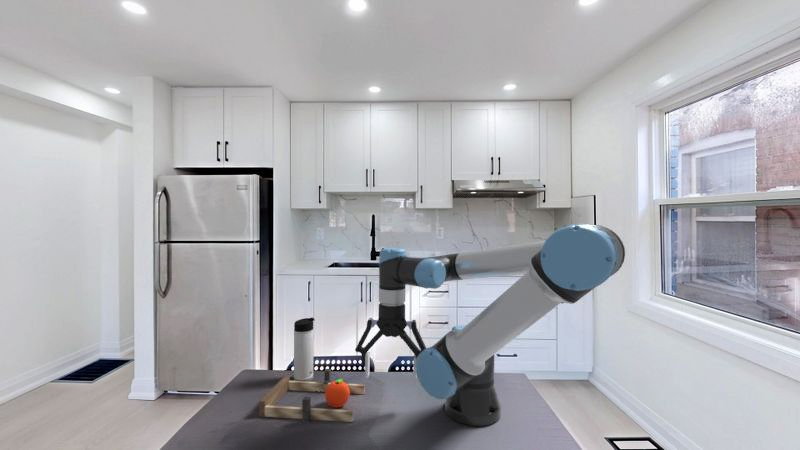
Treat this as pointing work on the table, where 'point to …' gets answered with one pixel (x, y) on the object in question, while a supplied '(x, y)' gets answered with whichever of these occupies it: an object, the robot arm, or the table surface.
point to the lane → (305, 401)
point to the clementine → (337, 393)
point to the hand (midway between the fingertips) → (390, 378)
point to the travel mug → (303, 350)
